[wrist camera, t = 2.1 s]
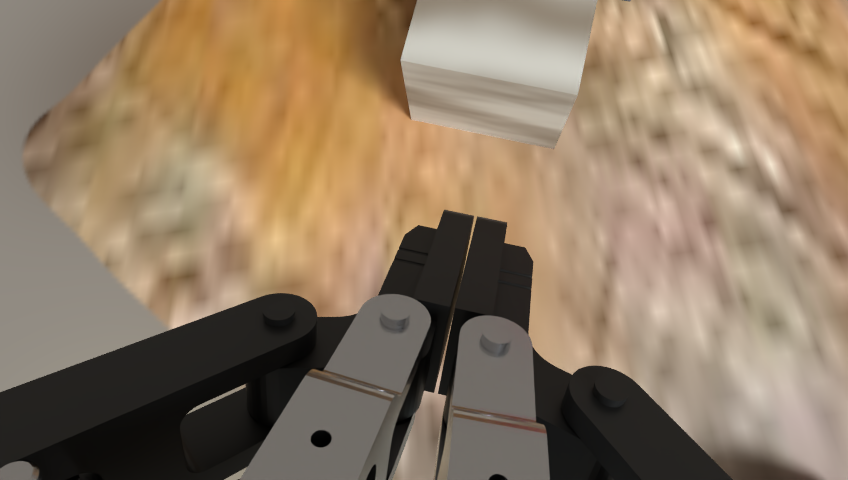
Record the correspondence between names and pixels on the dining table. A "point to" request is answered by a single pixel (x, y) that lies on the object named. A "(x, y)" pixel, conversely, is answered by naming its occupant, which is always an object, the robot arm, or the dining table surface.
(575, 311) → the dining table surface
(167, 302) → the dining table surface
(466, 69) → the cream block
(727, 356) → the dining table surface
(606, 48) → the dining table surface
